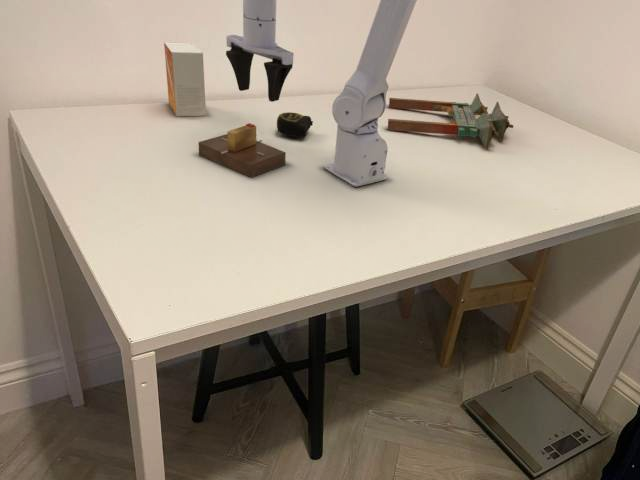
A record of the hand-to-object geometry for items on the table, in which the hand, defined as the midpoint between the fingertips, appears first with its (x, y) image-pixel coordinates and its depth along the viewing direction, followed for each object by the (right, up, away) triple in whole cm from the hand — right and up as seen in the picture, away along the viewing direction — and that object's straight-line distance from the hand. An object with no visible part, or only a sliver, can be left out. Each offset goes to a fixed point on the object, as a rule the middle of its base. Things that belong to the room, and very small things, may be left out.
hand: (258, 95), depth 107 cm
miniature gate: (+40, +3, +31) cm, 51 cm away
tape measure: (+5, -4, +12) cm, 14 cm away
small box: (-19, +2, +15) cm, 24 cm away
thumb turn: (-2, -11, -4) cm, 12 cm away
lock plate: (-2, -13, -3) cm, 14 cm away
